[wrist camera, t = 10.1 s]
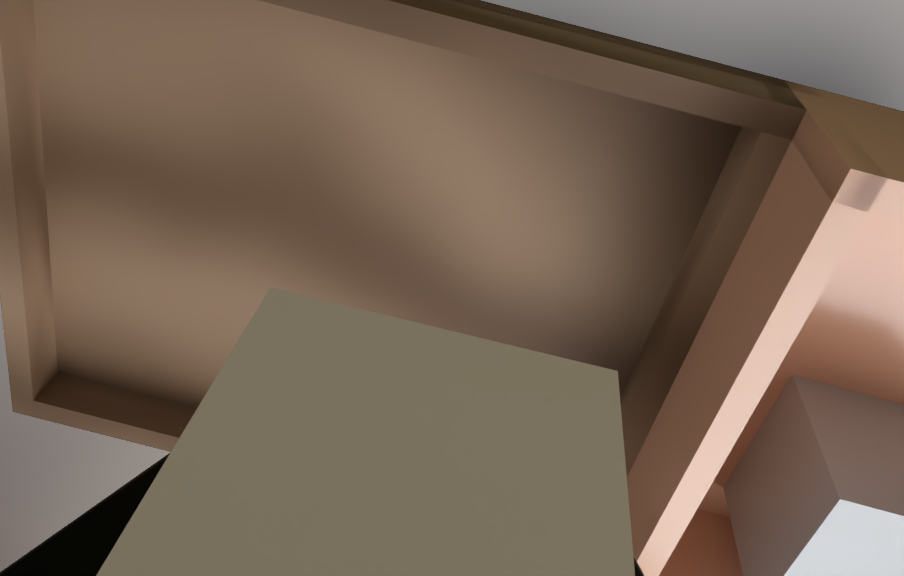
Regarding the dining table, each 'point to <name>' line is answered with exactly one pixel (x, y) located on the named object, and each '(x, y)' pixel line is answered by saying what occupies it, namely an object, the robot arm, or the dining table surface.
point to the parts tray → (357, 189)
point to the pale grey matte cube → (821, 486)
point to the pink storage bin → (781, 326)
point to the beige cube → (387, 458)
